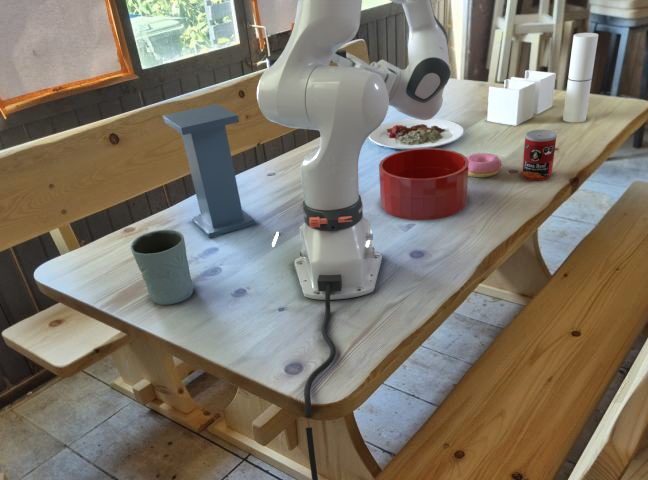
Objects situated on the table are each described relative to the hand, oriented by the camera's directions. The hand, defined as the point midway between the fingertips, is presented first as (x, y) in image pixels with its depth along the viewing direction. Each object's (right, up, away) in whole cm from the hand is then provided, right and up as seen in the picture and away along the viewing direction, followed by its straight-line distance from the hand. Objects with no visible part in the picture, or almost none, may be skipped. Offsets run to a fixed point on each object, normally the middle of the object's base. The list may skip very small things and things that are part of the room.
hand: (329, 54), depth 138 cm
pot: (+23, -31, +12) cm, 41 cm away
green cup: (-31, -57, -16) cm, 67 cm away
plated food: (+25, -1, +54) cm, 59 cm away
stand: (-27, -37, +10) cm, 47 cm away
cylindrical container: (+77, +7, +58) cm, 97 cm away
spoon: (-6, -2, 0) cm, 6 cm away
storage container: (+62, +12, +67) cm, 92 cm away
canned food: (+54, -22, +22) cm, 62 cm away
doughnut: (+40, -20, +26) cm, 52 cm away
